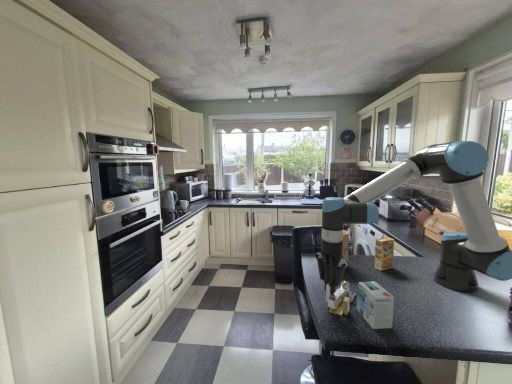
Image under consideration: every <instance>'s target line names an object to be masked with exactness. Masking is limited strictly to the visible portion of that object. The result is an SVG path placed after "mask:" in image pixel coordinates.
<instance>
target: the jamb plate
mask: <svg viewBox="0 0 512 384" xmlns="http://www.w3.org/2000/svg"><path fill="white" fill-rule="evenodd" d="M339 288H340V287H338V288H336V291H337V290H338V289H339ZM356 295H357V293H356V292H354V291H350V290H349V295H347V296H346V297H348V298H350V304H352V303H353V302H354V300H355V298H356ZM343 300H344V299H343Z"/></svg>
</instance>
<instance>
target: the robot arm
mask: <svg viewBox="0 0 512 384" xmlns="http://www.w3.org/2000/svg"><path fill="white" fill-rule="evenodd" d="M489 160H490V157H489V153H488V151H487V149H486V148H485V147H484V145H483V144H481V143H479V142H476V141H474V140H458V141H457V140H456V141H452V142H451V141H450V142H444V143H436V144H431V145H428V146H426V147H425V146H424V147H423V148H421V149H419V150H417V151H416V152H413V153H412V154H410V155H408V156H407V157H406V158H404V159H402V160H400V161H401V162H400V163H399V164H398V165H397V166H395V167H393V168H391V169H390V170H388V171H386V172H384V173H382V174H381V175H380V176H378V177H376V178H375V179H373V180H371V181H370V182H367V184H364V185H363V186H362V187H360V188H358V189H356V190H355V191H353V192H351V193H349V194H348V195H346V196H342V197H341V196H339V197H334V196H329V197H325V198H323V200H322V205H321V206H322V208H321V241H320V242H321V243H320V249H321V250H320V252H317V253H315V255H314V256H315V258H316V262H317V267H318V272H319V279H320V280H321V281H323V282H324V291H325V301H326V302H328V298H329V297H330V296H331V294H334V293H335V292H336V291H337V287H338V286H341V282H342V281H343V278H344V275H345V272H346V268H348V266H349V265H350V262H349V261H348V262H345V261H344V260H343V256H342V249H343V242H342V240H343V230H344V225H371V224H375V223H377V222H378V220H379V217H380V211H379V208H378V206H377V205H376V204H375V203H373V202H375V201H377V200H378V199H380V198H382V197H384V196H385V195H387V194H389V193H390V192H392V191H394V190H396V189H397V188H399V187H401V186H403V185H404V184H405V183H408V182H410V181H412V180H418V179H420V178H421V177H424V176H427V175H432V174H433V175H439V178H440V180H441V182H442V184H444V185H446V186H448V187H449V189H450V193H451V195H452V199H453V201H454V203H455V206H456V209H457V211H458V214H459V217H460V218H459V219H460V220H461V223H462V225H463V226H462V227H464V231H465V232H461V231H460V232H459V231H458V232H457V231H456V232H455V231H449V232H444V233H442V235H441V239H440V250H439V251H440V252H439V264H438V265H437V267H436V268H435V270H434V272H433V280H434V282H436V283H437V284H439V285H441V286H442V287H445V288H447V289H452V290H454V291H458V292H466V293H474V292H478V290H479V281H478V278H477V275H476V273H475V271H476V272H477V273H478V272H479V273H480V274H482V275H485V276H486V277H488V278H492V279H495V280H497V281H501V282H502V281H503V282H506V281H511V280H512V250H511V249H510V246H509V243H508V241H507V239H505V238H504V237H501V236H500V235H499V234H500V233H499V232H498V229H497V226H496V223H495V220H494V216H493V214H492V212H491V211H492V210H491V208H490V204H489V203H488V200H487V196H486V194H485V190H484V188H483V185H482V182H481V178H482V177H483V176H484V174H485V173H484V171H485V170H486V169H487V167H488V164H487V163H489ZM339 262H340V267H338V263H339Z"/></svg>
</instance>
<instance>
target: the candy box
mask: <svg viewBox="0 0 512 384" xmlns="http://www.w3.org/2000/svg"><path fill="white" fill-rule="evenodd" d="M374 247H375V248H374V249H375V250H374V251H375V252H374V269H376V270H378V271H380V272H381V271H386V270H390V269H393V268H394V256H395V255H394V254H395V239H394V238H390V237H383V238H378V239H375V246H374Z"/></svg>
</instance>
